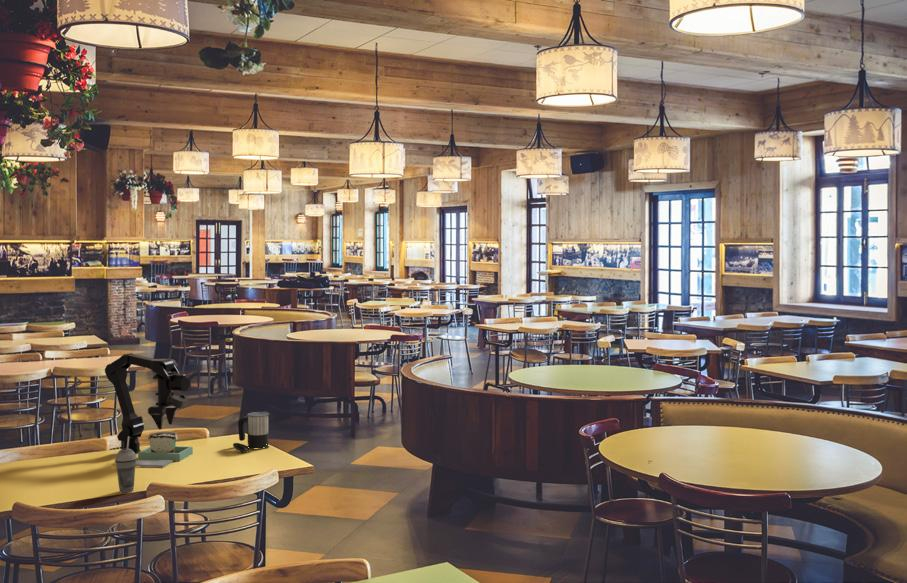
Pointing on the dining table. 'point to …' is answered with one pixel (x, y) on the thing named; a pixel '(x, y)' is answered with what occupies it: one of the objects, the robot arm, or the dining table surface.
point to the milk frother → (253, 431)
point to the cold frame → (166, 454)
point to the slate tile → (152, 463)
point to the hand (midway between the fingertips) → (165, 426)
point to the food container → (163, 442)
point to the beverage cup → (126, 469)
